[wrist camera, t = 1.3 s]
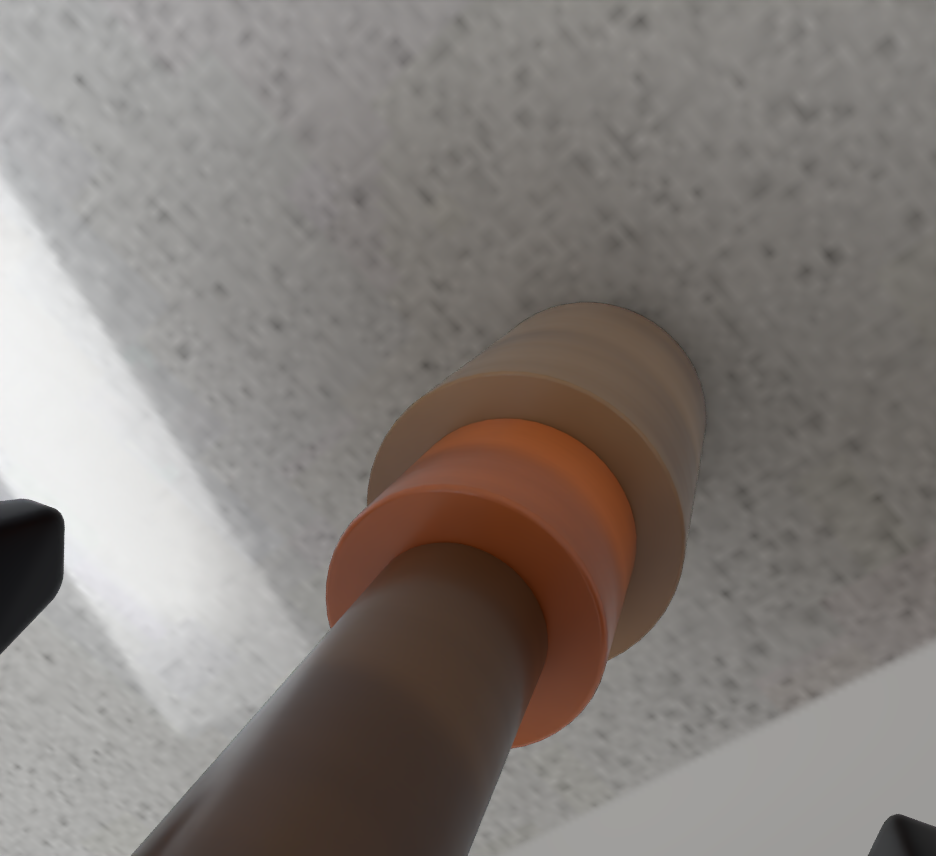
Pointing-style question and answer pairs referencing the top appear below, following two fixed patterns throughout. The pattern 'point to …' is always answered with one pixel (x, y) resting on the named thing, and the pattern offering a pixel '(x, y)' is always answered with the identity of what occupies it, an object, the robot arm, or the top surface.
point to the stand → (586, 426)
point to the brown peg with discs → (429, 656)
